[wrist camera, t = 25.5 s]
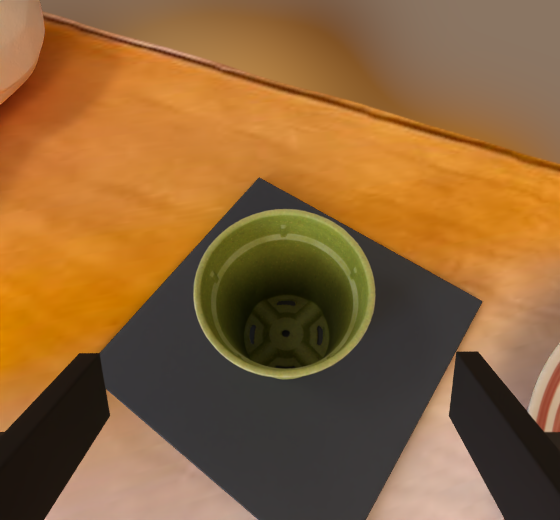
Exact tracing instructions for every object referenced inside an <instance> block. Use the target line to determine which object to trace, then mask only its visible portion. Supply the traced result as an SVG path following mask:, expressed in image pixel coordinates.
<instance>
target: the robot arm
mask: <svg viewBox="0 0 560 520" xmlns="http://www.w3.org/2000/svg"><path fill="white" fill-rule="evenodd" d="M109 417H110V413H109V407H108V401H107V395H106V389H105V383H104V377H103V371H102V365H101V359H100V353H79V354H78V355H77V356H76V357H75V359H74V360H73V361H72V362H71V363H70V364H69V365H68V366H67V367H66V368H65V369H64V370H63V371H62V372H61V373H60V374H59V375H58V376H57V378H56V379H55V380H54V381H53V382H52V383H51V384H50V385H49V386H48V387H47V388H46V389H45V390H44V391H43V392H42V393H41V394H40V396H39V397H38V398H37V399H36V400H35V401H34V402H33V403H32V404H31V405H30V406H29V407H28V408H27V409H26V410H25V411H24V412H23V413H22V415H21V416H20V417H19V418H18V419H17V420H16V421H15V422H14V423H13V424H12V425H11V426H10V427H9V428H8V429H7V430H6V431H5V432H0V520H44V519H45V517H46V516H47V514H48V513H49V511H50V509H51V508H52V506H53V505H54V503H55V502H56V500H57V498H58V497H59V495H60V494H61V492H62V491H63V489H64V487H65V486H66V484H67V483H68V481H69V480H70V478H71V476H72V475H73V473H74V472H75V470H76V469H77V467H78V465H79V464H80V462H81V461H82V459H83V458H84V456H85V454H86V453H87V451H88V450H89V448H90V446H91V445H92V443H93V442H94V440H95V439H96V437H97V435H98V434H99V432H100V431H101V429H102V428H103V426H104V424H105V423H106V421H107V420H108V418H109ZM449 417H450V419H451V421H452V422H453V424H454V426H455V428H456V430H457V432H458V434H459V435H460V437H461V439H462V441H463V443H464V445H465V447H466V448H467V450H468V452H469V454H470V456H471V458H472V459H473V461H474V463H475V465H476V467H477V469H478V471H479V472H480V474H481V476H482V478H483V480H484V482H485V484H486V485H487V487H488V489H489V491H490V493H491V495H492V496H493V498H494V500H495V502H496V504H497V506H498V508H499V509H500V511H501V513H502V515H503V517H504V519H505V520H560V432H544V431H543V430H542V429H541V428H540V426H539V425H538V424H537V423H536V421H535V420H534V419H533V418H532V417H531V415H530V414H529V413H528V412H527V411H526V409H525V408H524V407H523V406H522V404H521V403H520V402H519V401H518V400H517V398H516V397H515V396H514V395H513V394H512V392H511V391H510V390H509V389H508V388H507V386H506V385H505V384H504V383H503V381H502V380H501V379H500V378H499V377H498V375H497V374H496V373H495V372H494V371H493V369H492V368H491V367H490V366H489V364H488V363H487V362H486V361H485V360H484V358H483V357H482V356H481V355H480V354H479V352H456V360H455V368H454V377H453V386H452V394H451V403H450V411H449Z"/></svg>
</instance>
